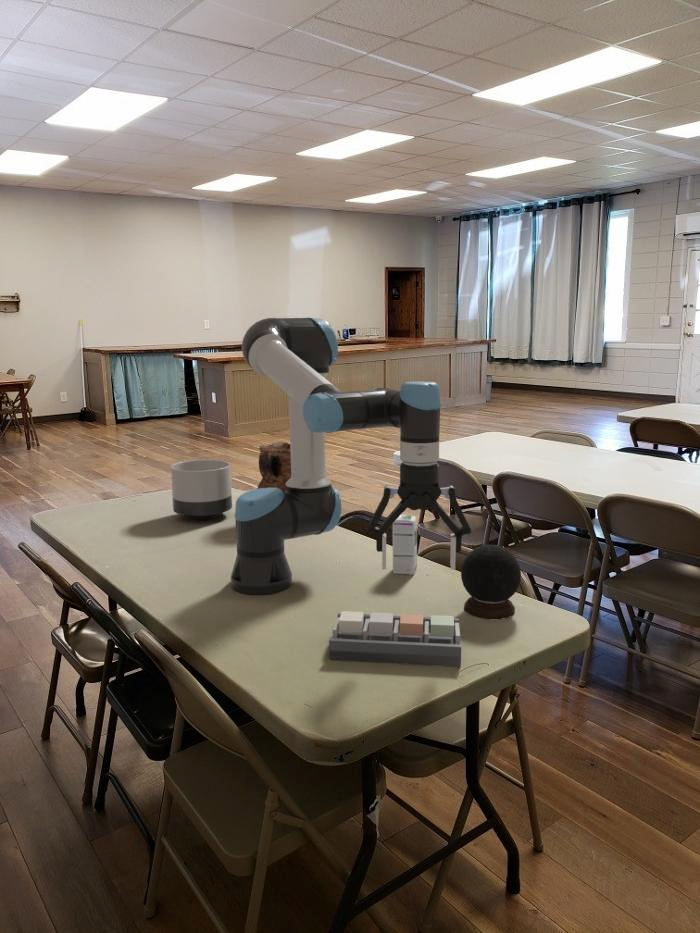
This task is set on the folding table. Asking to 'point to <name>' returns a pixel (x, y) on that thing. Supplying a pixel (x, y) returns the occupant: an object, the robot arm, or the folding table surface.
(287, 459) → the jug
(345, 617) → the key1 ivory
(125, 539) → the folding table surface
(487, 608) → the black ball on stand
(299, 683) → the folding table surface
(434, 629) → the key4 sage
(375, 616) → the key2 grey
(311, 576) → the folding table surface
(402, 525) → the syrup box
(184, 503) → the planter
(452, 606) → the folding table surface
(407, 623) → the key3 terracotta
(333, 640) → the keypad board
